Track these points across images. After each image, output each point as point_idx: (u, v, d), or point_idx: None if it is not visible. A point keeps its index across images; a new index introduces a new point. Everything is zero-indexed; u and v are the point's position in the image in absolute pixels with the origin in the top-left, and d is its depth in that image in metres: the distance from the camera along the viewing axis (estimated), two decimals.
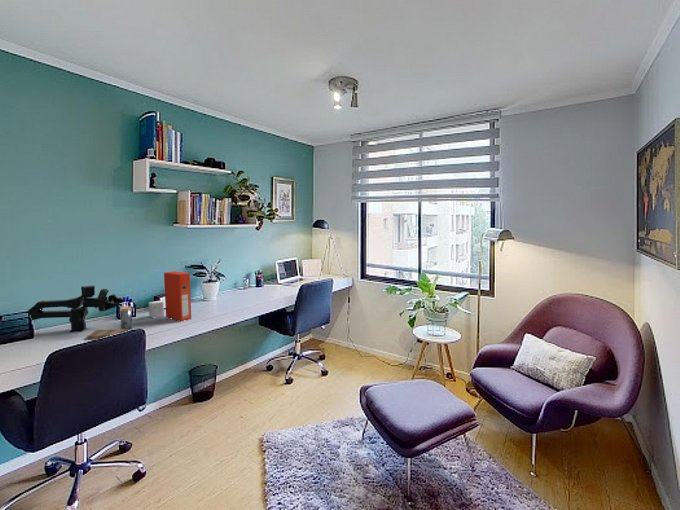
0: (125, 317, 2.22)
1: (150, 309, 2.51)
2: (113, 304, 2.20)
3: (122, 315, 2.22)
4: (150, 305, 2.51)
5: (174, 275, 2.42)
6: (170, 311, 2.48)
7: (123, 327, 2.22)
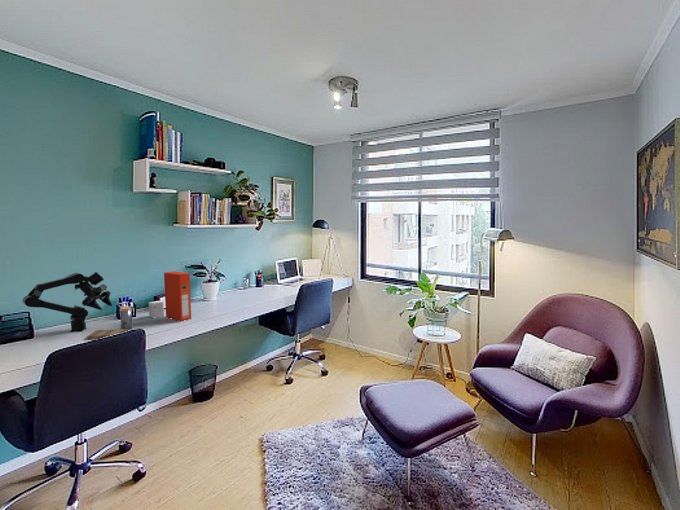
0: (125, 317, 2.22)
1: (150, 309, 2.51)
2: (96, 306, 2.18)
3: (122, 315, 2.22)
4: (150, 305, 2.51)
5: (174, 275, 2.42)
6: (170, 311, 2.48)
7: (123, 327, 2.22)
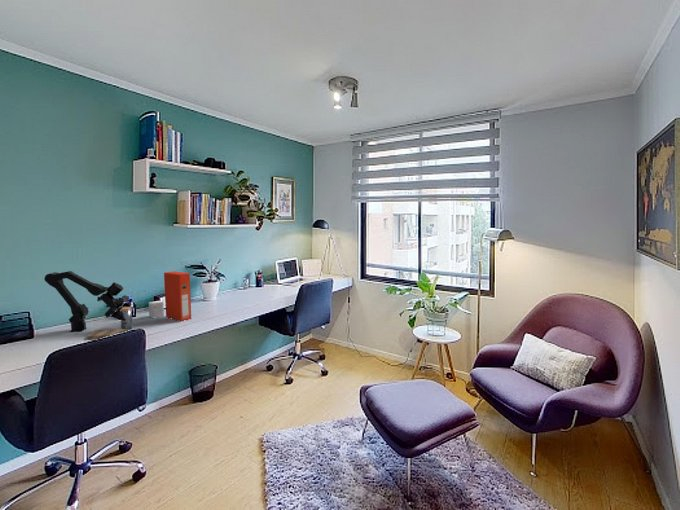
0: (125, 317, 2.22)
1: (150, 309, 2.51)
2: (120, 316, 2.20)
3: None
4: (150, 305, 2.51)
5: (174, 275, 2.42)
6: (170, 311, 2.48)
7: (123, 327, 2.22)
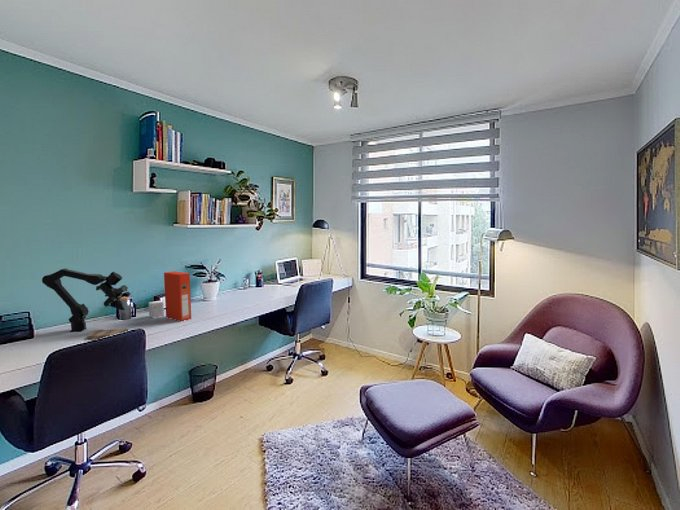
0: (123, 306, 2.21)
1: (150, 309, 2.51)
2: (119, 306, 2.19)
3: None
4: (150, 305, 2.51)
5: (174, 275, 2.42)
6: (170, 311, 2.48)
7: (122, 317, 2.21)
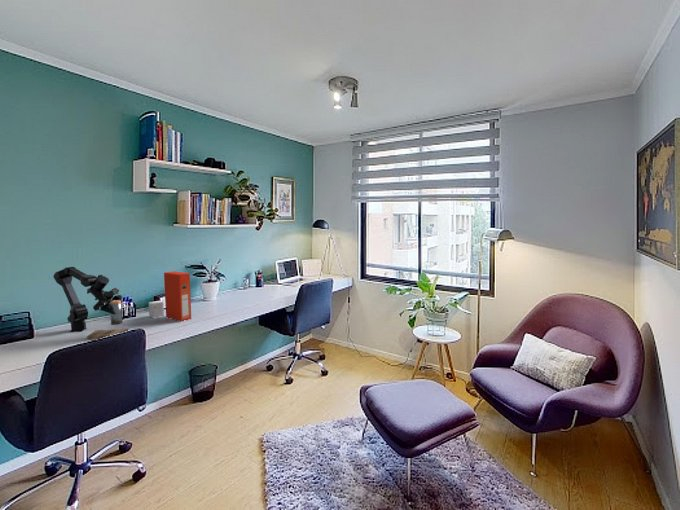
0: (114, 310, 2.11)
1: (150, 309, 2.51)
2: (110, 310, 2.09)
3: (112, 308, 2.11)
4: (150, 305, 2.51)
5: (174, 275, 2.42)
6: (170, 311, 2.48)
7: (113, 321, 2.11)
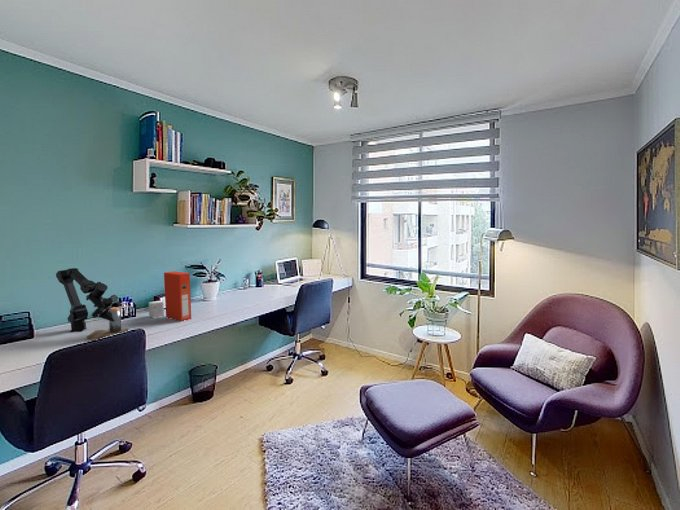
0: (113, 317, 2.10)
1: (150, 309, 2.51)
2: (109, 317, 2.08)
3: (111, 315, 2.10)
4: (150, 305, 2.51)
5: (174, 275, 2.42)
6: (170, 311, 2.48)
7: (112, 328, 2.10)
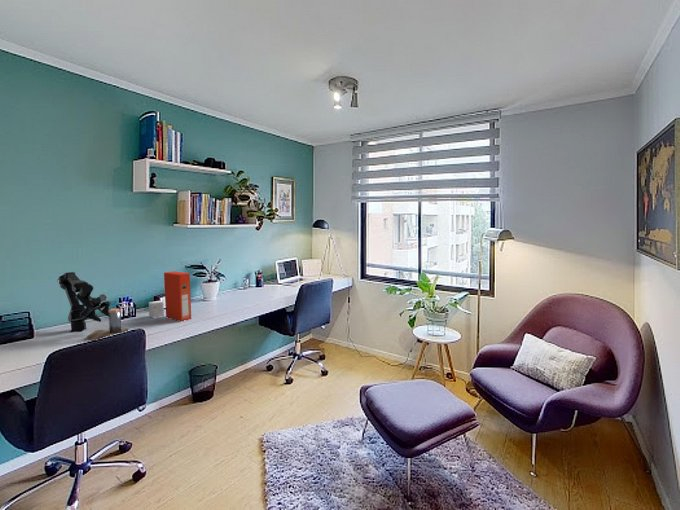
0: (113, 319, 2.10)
1: (150, 309, 2.51)
2: (95, 317, 2.07)
3: (110, 317, 2.10)
4: (150, 305, 2.51)
5: (174, 275, 2.42)
6: (170, 311, 2.48)
7: (112, 330, 2.11)
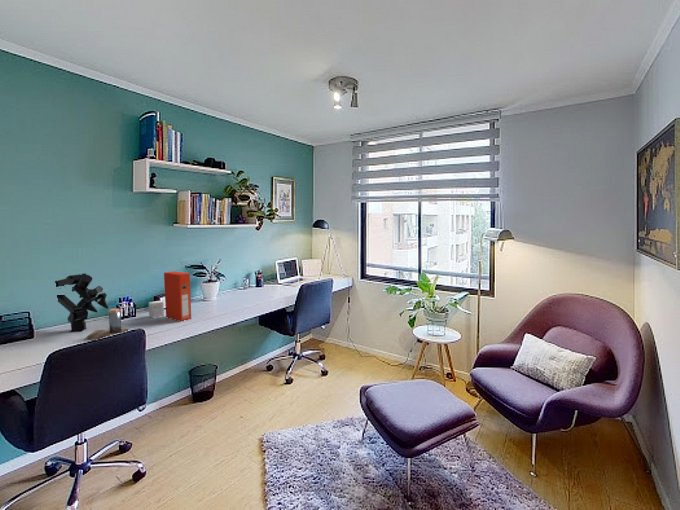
0: (113, 319, 2.10)
1: (150, 309, 2.51)
2: (92, 308, 2.12)
3: (110, 317, 2.10)
4: (150, 305, 2.51)
5: (174, 275, 2.42)
6: (170, 311, 2.48)
7: (112, 330, 2.11)
